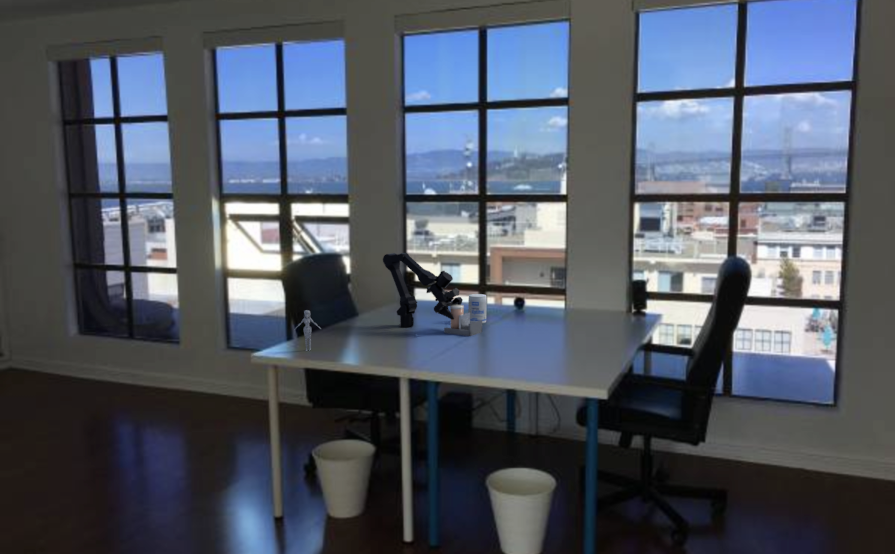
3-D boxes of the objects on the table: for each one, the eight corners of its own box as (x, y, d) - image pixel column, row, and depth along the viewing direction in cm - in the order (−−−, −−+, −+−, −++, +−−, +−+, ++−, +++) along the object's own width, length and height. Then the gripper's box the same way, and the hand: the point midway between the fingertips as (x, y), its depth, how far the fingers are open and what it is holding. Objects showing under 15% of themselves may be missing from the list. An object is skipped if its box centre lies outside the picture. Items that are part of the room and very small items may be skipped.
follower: (459, 333, 344) (458, 315, 343) (468, 330, 351) (468, 312, 349) (460, 333, 343) (460, 315, 342) (469, 330, 350) (469, 312, 349)
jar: (452, 333, 345) (451, 307, 344) (449, 330, 352) (449, 304, 350) (465, 332, 347) (465, 306, 345) (462, 330, 353) (462, 304, 351)
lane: (444, 333, 347) (444, 320, 346) (456, 329, 356) (456, 317, 355) (470, 337, 339) (470, 323, 338) (482, 333, 348) (482, 320, 347)
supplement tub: (471, 324, 368) (471, 297, 366) (465, 321, 377) (465, 294, 375) (489, 323, 371) (489, 295, 369) (483, 320, 380) (482, 293, 378)
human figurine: (294, 351, 314) (292, 311, 311) (295, 349, 317) (293, 310, 315) (321, 350, 315) (320, 310, 313) (322, 348, 319) (320, 309, 316)
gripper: (438, 285, 341) (457, 310, 336) (459, 281, 356) (478, 304, 352) (425, 300, 346) (444, 324, 342) (446, 295, 362) (465, 318, 357)
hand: (458, 317), depth 348 cm, fingers open, 9 cm apart
